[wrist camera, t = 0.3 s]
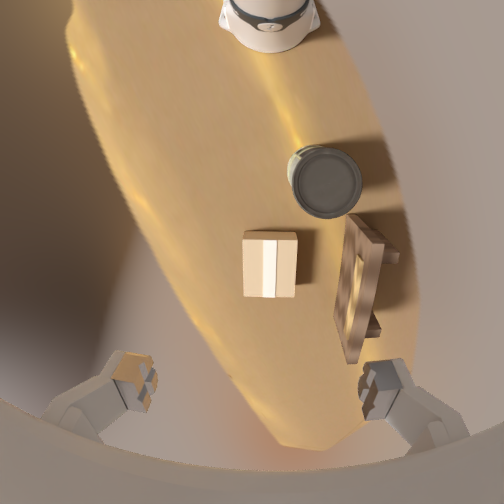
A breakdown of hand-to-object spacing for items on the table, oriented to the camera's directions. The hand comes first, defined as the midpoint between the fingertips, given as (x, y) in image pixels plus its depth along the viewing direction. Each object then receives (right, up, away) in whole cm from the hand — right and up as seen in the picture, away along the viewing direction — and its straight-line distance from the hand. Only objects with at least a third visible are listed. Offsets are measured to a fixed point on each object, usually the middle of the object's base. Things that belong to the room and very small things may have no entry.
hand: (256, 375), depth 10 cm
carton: (+3, +3, +49) cm, 50 cm away
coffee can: (+11, +20, +42) cm, 48 cm away
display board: (+22, +1, +49) cm, 53 cm away
